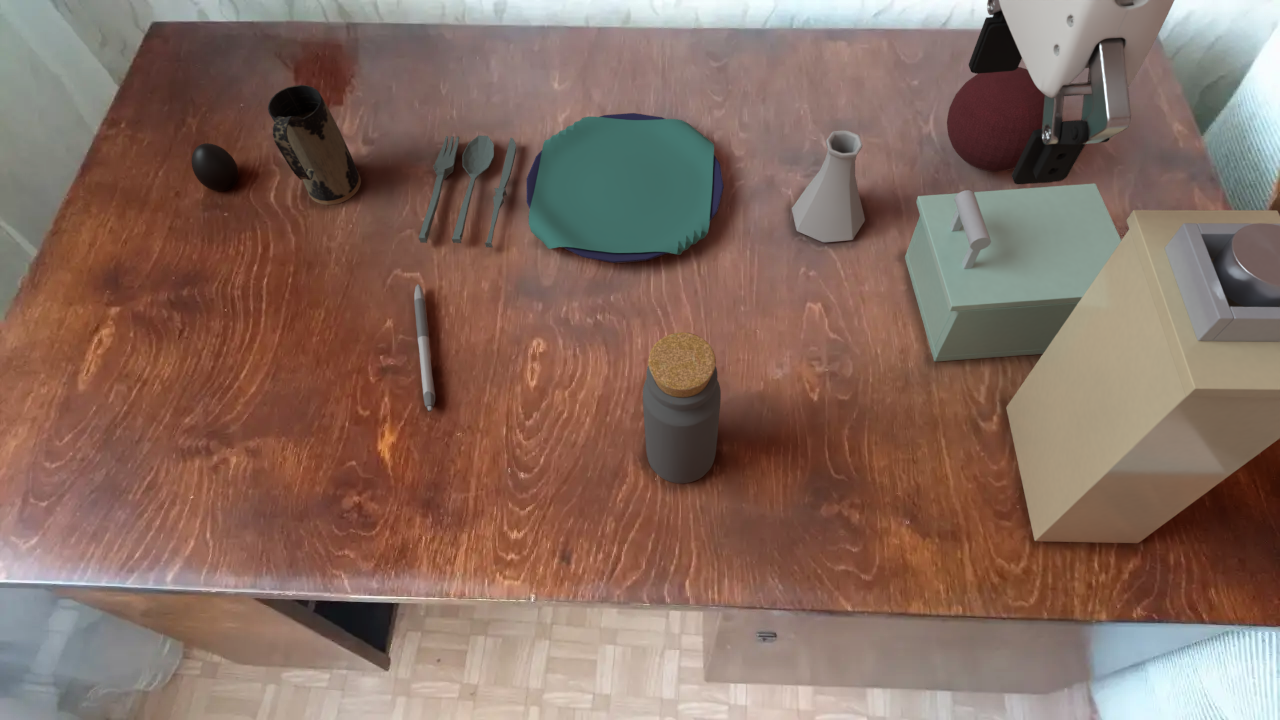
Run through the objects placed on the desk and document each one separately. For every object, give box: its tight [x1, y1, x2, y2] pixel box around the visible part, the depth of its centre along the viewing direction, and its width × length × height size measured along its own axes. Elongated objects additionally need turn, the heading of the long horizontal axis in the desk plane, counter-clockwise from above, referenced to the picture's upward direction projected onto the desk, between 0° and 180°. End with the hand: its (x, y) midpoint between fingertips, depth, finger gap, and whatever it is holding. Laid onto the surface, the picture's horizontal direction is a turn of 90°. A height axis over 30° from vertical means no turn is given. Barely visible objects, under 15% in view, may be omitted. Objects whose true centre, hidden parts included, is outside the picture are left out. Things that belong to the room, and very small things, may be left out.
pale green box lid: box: [916, 182, 1122, 311], centre depth 71 cm, size 16×12×5 cm
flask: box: [791, 129, 866, 243], centre depth 82 cm, size 7×7×10 cm
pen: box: [413, 283, 436, 412], centre depth 79 cm, size 1×14×1 cm, turn 12°
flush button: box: [1212, 223, 1280, 307], centre depth 47 cm, size 4×4×2 cm
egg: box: [191, 142, 239, 192], centre depth 89 cm, size 4×4×5 cm
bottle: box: [642, 332, 722, 484], centre depth 67 cm, size 6×6×15 cm
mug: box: [267, 84, 362, 206], centre depth 85 cm, size 8×6×12 cm
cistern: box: [1005, 209, 1280, 544], centre depth 59 cm, size 9×13×27 cm
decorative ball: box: [946, 66, 1045, 172], centre depth 85 cm, size 10×10×10 cm
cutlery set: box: [418, 112, 725, 264], centre depth 87 cm, size 20×30×2 cm, turn 85°
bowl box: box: [904, 215, 1079, 363], centre depth 76 cm, size 15×12×8 cm
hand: (1013, 121), depth 55 cm, fingers open, 9 cm apart
